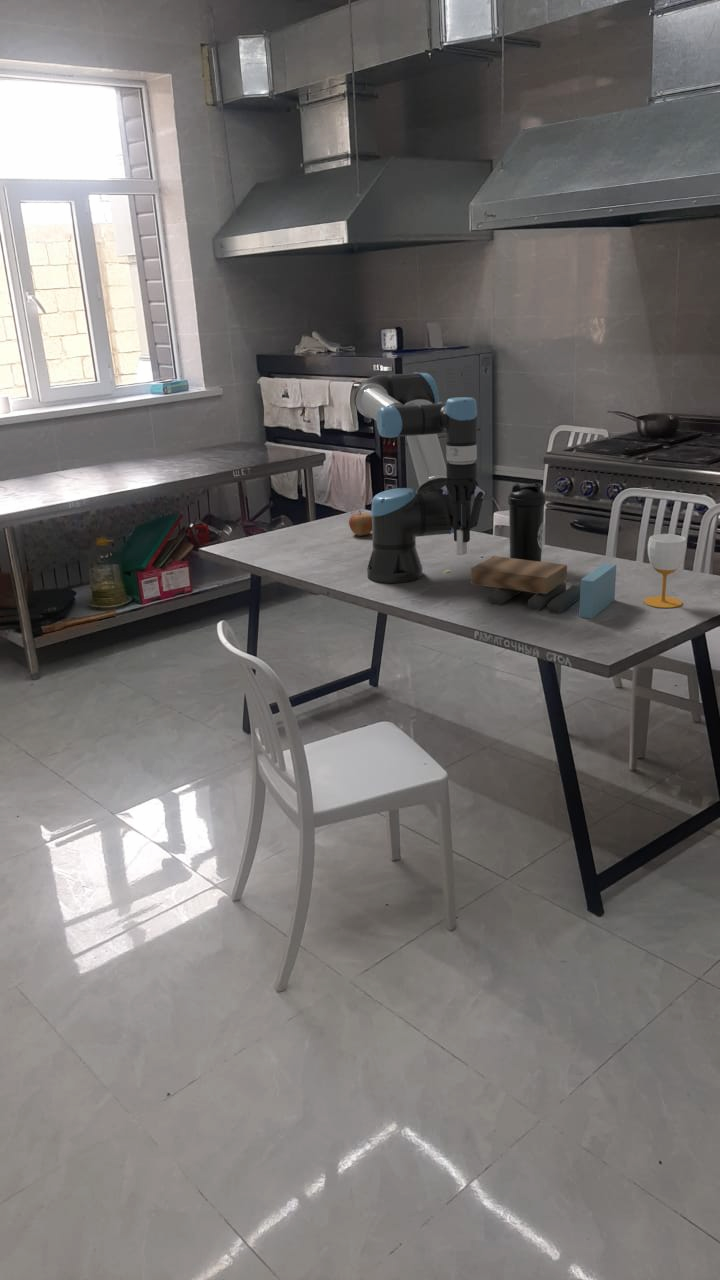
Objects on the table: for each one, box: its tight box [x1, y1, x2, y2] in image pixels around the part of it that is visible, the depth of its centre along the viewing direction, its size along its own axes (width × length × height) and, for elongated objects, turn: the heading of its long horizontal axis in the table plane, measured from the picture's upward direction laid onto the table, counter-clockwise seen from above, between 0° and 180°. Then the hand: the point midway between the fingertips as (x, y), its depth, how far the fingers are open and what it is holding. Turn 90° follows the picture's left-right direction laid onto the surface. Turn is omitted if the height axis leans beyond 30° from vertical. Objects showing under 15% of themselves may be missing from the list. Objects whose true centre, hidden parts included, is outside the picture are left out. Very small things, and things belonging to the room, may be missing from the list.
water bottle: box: [507, 482, 547, 562], centre depth 265 cm, size 10×10×23 cm
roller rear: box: [489, 588, 522, 606], centre depth 243 cm, size 16×4×4 cm, turn 147°
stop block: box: [578, 562, 617, 619], centre depth 230 cm, size 3×16×9 cm, turn 147°
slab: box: [470, 555, 568, 594], centre depth 241 cm, size 20×13×4 cm, turn 57°
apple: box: [348, 510, 372, 537], centre depth 309 cm, size 8×8×8 cm
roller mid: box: [527, 582, 567, 612], centre depth 238 cm, size 16×4×4 cm
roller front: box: [547, 582, 581, 615], centre depth 235 cm, size 16×4×4 cm, turn 147°
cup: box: [643, 533, 688, 609], centre depth 231 cm, size 9×9×16 cm
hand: (461, 554), depth 247 cm, fingers closed
